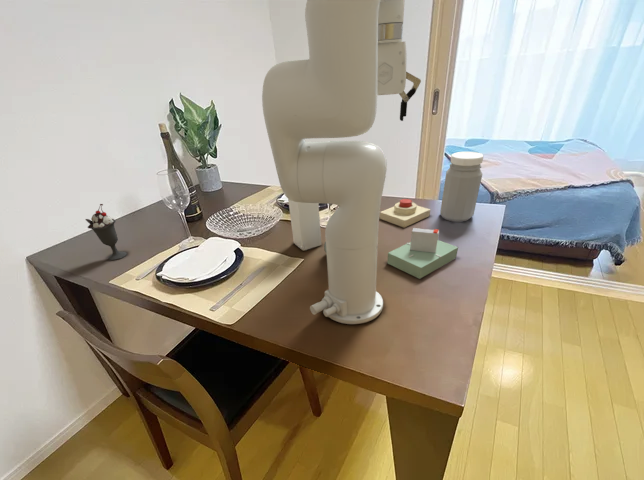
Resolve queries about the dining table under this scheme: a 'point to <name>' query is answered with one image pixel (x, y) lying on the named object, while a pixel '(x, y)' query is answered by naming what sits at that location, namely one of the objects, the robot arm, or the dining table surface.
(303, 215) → the milk
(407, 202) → the button
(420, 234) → the grey rectangular block
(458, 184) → the jar
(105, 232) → the sundae
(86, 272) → the dining table surface
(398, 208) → the button box
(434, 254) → the panel
